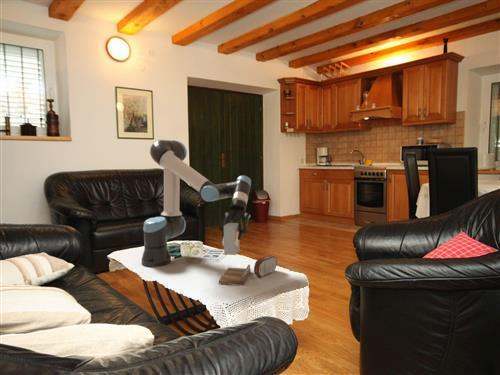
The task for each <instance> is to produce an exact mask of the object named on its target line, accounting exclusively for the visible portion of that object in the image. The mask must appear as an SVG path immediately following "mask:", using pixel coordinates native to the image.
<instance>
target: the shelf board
mask: <svg viewBox="0 0 500 375" xmlns="http://www.w3.org/2000/svg"><path fill="white" fill-rule="evenodd" d="M246 268H247V267H246ZM246 268H244V267H243V268H242V267H227V269H226V270H225V271H224V273H223V274H222V275H221V277H220V278H218V284H219V283H221V284H220V285H233V284H235V285H236V286H244V284H245V283H246V281H247V279H248V277H249V275H250V274H251V269H250V270H249V272H248V274H247V275H246V277H245V279H244V281H243V282H241V276H242V275H243V273H244V271H245V270H246Z"/></svg>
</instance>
